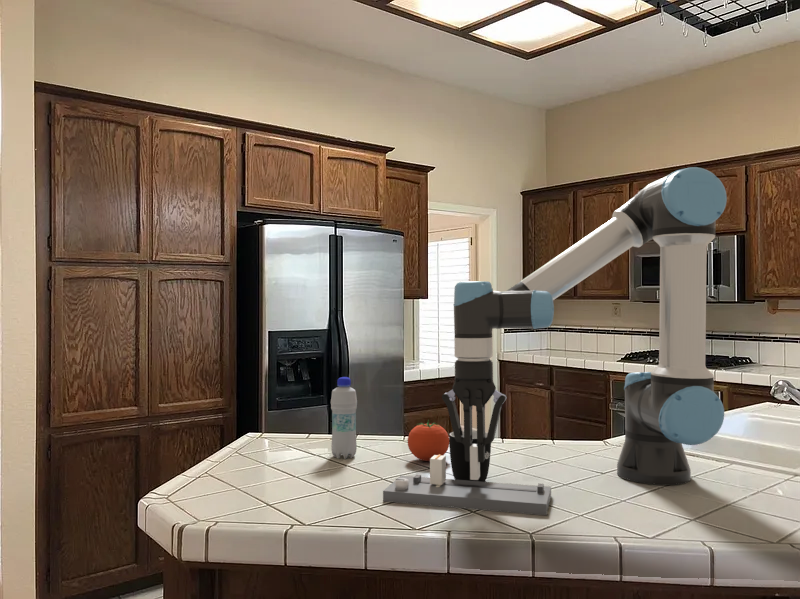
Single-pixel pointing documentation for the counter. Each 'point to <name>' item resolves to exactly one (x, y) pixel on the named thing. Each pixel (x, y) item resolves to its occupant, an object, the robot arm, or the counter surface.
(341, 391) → the bottle
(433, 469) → the fader tab
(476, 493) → the console
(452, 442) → the mug
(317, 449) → the counter surface
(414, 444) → the tomato
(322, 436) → the counter surface
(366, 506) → the counter surface
